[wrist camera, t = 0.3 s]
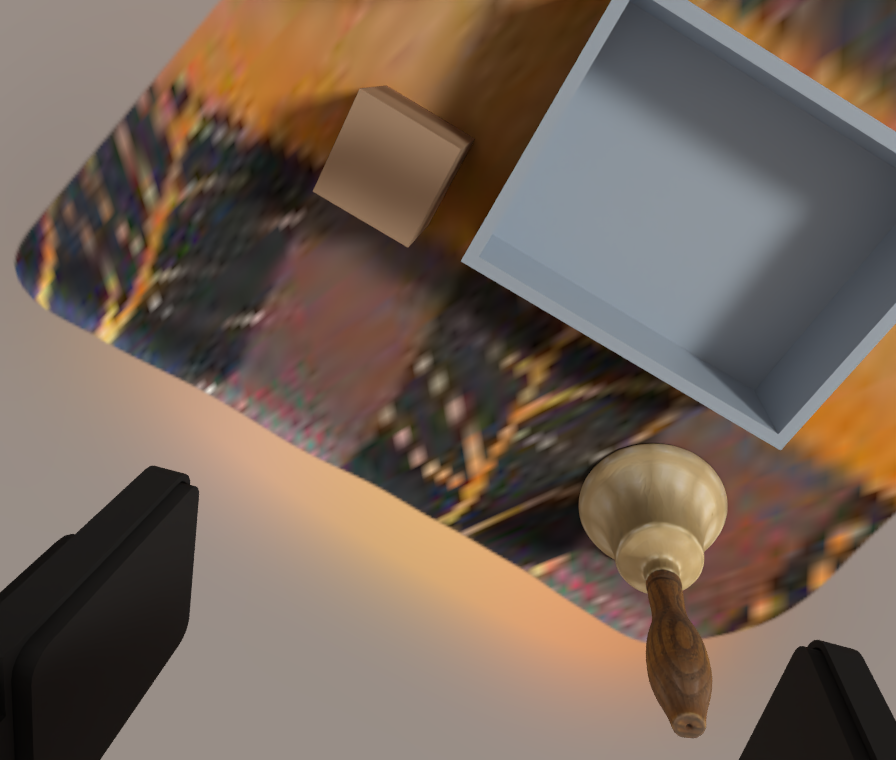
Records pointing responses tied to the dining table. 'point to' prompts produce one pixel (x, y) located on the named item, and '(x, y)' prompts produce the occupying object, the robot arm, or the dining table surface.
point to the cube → (392, 163)
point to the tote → (704, 216)
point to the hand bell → (661, 559)
